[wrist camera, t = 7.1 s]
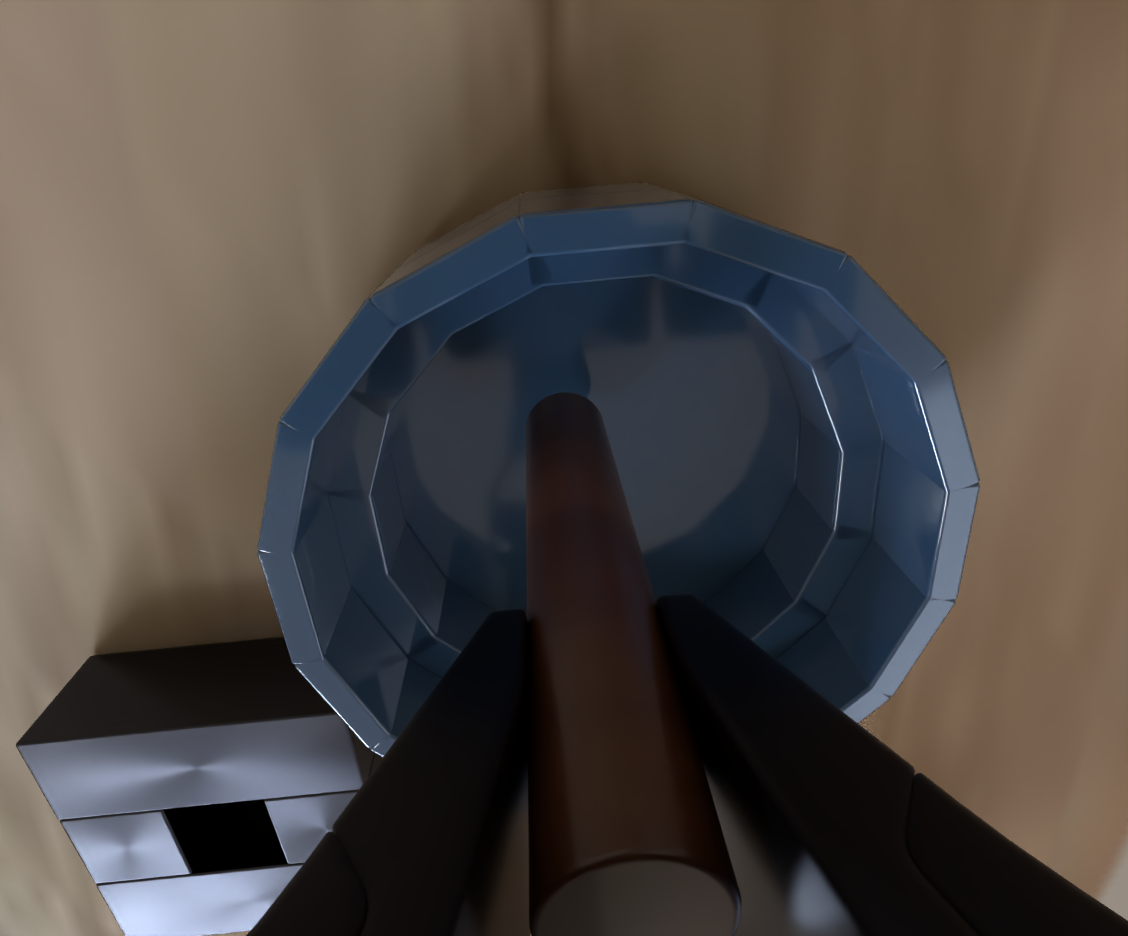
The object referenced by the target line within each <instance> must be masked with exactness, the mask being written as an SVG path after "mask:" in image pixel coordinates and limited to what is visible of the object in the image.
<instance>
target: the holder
mask: <svg viewBox="0 0 1128 936" xmlns="http://www.w3.org/2000/svg"><path fill="white" fill-rule="evenodd" d="M16 747H17V749H18V750H19V752H20V754H21V755H22V757H23V759H24V761H25V762H26V764H27V766H28V768H29V769H30V771H31V773H32V775H33V776H34V778H35V780H36V782H37V783H38V785H39V787H40V789H41V790H42V792H43V794H44V796H45V797H46V799H47V801H48V802H49V804H50V806H51V808H52V809H53V811H54V813H55V815H56V816H57V818H58V819H60V823H61V824H62V826H63V828H64V830H65V831H66V833H67V835H68V836H69V838H70V840H71V842H72V843H73V845H74V847H75V849H76V850H77V852H78V854H79V856H80V857H81V859H82V861H83V863H84V864H85V866H86V868H87V870H88V871H89V873H90V875H91V877H92V878H93V880H94V882H95V883H97V888H98V889H99V891H100V893H101V894H102V896H103V898H104V900H105V901H106V903H107V905H108V907H109V908H110V910H111V912H112V914H113V915H114V917H115V919H116V921H117V922H118V924H119V926H120V928H121V929H122V931H123V933H124V935H125V936H204V935H214V934H224V933H234V932H243V931H251V929H252V928H253V927H254V926H255V925H256V924H257V922H258V921H259V920H260V919H261V918H262V917H263V915H264V914H265V913H266V911H267V910H268V909H269V908H270V906H271V905H272V904H273V902H274V901H275V900H276V899H277V897H278V896H279V895H280V893H281V892H282V891H283V890H284V888H285V887H286V886H287V885H288V883H289V882H290V881H291V879H292V878H293V877H294V876H295V874H296V873H297V872H298V870H299V869H300V868H301V867H302V865H303V864H304V863H305V861H306V860H307V859H308V857H309V856H310V855H311V853H312V852H313V851H314V849H315V848H316V846H317V845H318V844H319V842H320V841H321V840H322V838H323V837H324V836H325V834H326V833H327V832H330V831H331V832H333V830H332V827H333V824H334V823H335V821H336V820H337V819H338V817H339V816H340V815H341V813H342V812H343V811H344V809H345V808H346V807H347V805H348V804H349V803H350V801H351V800H352V798H353V797H354V796H355V794H356V793H357V792H358V790H359V789H360V788H361V786H362V785H363V784H364V782H365V781H366V780H367V778H368V777H369V776H370V774H371V773H372V772H373V770H374V769H375V767H376V766H377V765H378V763H379V762H380V761H381V759H382V758H383V757H382V756H380V755H378V754H377V753H375V752H373V751H371V750H370V748H368V747H366V746H365V744H364V743H363V742H362V741H361V740H360V739H359V738H358V737H357V735H356V734H355V733H354V732H353V731H352V730H351V729H350V728H349V727H348V725H347V724H346V723H345V722H344V721H343V720H342V719H341V718H340V716H339V715H338V714H337V713H336V712H335V711H334V710H333V709H332V708H331V706H330V705H329V704H328V703H327V702H326V701H325V700H324V699H323V698H322V696H321V695H320V694H319V693H318V692H317V691H316V690H315V689H314V687H313V686H312V685H311V684H310V683H309V682H308V681H307V680H306V679H305V677H304V676H303V675H302V674H301V673H300V672H299V671H298V670H297V668H296V667H295V664H293V663H292V661H291V658H290V655H289V651H288V648H287V645H286V642H285V639H284V638H273V639H263V640H253V641H242V642H232V643H222V644H211V645H201V646H191V647H180V648H170V649H160V650H149V651H139V652H128V653H118V654H108V655H97V656H91V657H89V658H88V659H87V661H86V662H85V663H84V664H83V665H82V667H81V668H80V669H79V670H78V671H77V672H76V674H75V675H74V676H73V677H72V678H71V680H70V681H69V682H68V683H67V684H66V685H65V687H64V688H63V689H62V690H61V691H60V693H59V694H58V695H57V696H56V697H55V699H54V700H53V701H52V702H51V703H50V704H49V706H48V707H47V708H46V709H45V710H44V712H43V713H42V714H41V715H40V716H39V717H38V719H37V720H36V721H35V722H34V723H33V725H32V726H31V727H30V728H29V729H28V730H27V732H26V733H25V734H24V735H23V736H22V738H21V739H20V740H19V741H18V742H17V744H16Z"/></svg>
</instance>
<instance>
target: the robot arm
mask: <svg viewBox="0 0 1128 936" xmlns="http://www.w3.org/2000/svg"><path fill="white" fill-rule="evenodd" d="M656 608H657V611H658V615H659V618H660V622H661V625H662V628H663V632H664V635H665V639H666V642H667V646H668V649H669V653H670V656H671V660H672V663H673V667H674V670H675V674H676V677H677V680H678V684H679V687H680V690H681V693H682V697H683V700H684V703H685V706H686V709H687V712H688V715H689V718H690V721H691V725H692V728H693V732H694V735H695V739H696V742H697V746H698V749H699V752H700V756H701V759H702V763H703V766H704V770H705V773H706V777H707V780H708V783H709V787H710V790H711V794H712V797H713V801H714V804H715V808H716V811H717V814H718V818H719V821H720V825H721V828H722V832H723V835H724V838H725V842H726V845H727V849H728V852H729V856H730V859H731V863H732V866H733V869H734V873H735V876H736V880H737V883H738V887H739V890H740V894H741V900H742V908H741V916H740V922H739V925H738V928H737V931H736V933H735V934H734V936H1128V921H1127V920H1126V919H1124V918H1123V917H1121V916H1120V915H1118V914H1117V913H1115V912H1114V911H1112V910H1111V909H1109V908H1108V907H1106V906H1105V905H1103V904H1102V903H1100V902H1099V901H1097V900H1096V899H1094V898H1093V897H1091V896H1090V895H1088V894H1087V893H1085V892H1084V891H1082V890H1081V889H1079V888H1078V887H1076V886H1075V885H1074V884H1072V883H1071V882H1069V881H1068V880H1066V879H1065V878H1063V877H1062V876H1061V875H1059V874H1058V873H1056V872H1055V871H1053V870H1052V869H1050V868H1049V867H1048V866H1046V865H1045V864H1043V863H1042V862H1040V861H1039V860H1037V859H1036V858H1035V857H1033V856H1032V855H1030V854H1029V853H1027V852H1026V851H1024V850H1023V849H1022V848H1020V847H1019V846H1017V845H1016V844H1014V843H1013V842H1011V841H1010V840H1009V839H1007V838H1006V837H1005V836H1003V835H1002V834H1001V833H999V832H998V831H997V830H995V829H994V828H993V827H991V826H990V825H989V824H987V823H986V822H985V821H983V820H982V819H981V818H979V817H978V816H977V815H975V814H974V813H973V812H971V811H970V810H969V809H967V808H966V807H965V806H963V805H962V804H961V803H959V802H958V801H957V800H955V799H954V798H953V797H952V796H950V795H949V794H948V793H946V792H945V791H944V790H943V789H941V788H940V787H939V786H938V785H936V784H935V783H934V782H932V781H931V780H930V779H929V778H927V777H926V776H925V775H923V774H922V773H917V774H915V769H914V767H913V766H912V765H910V764H909V763H908V762H906V761H905V760H904V759H903V758H901V757H900V756H899V755H897V754H896V753H895V752H894V751H892V750H891V749H890V748H889V747H887V746H886V745H885V744H883V743H882V742H881V741H880V740H878V739H877V738H876V737H875V736H873V735H872V734H871V733H869V732H868V731H867V730H866V729H864V728H863V727H862V726H861V725H859V724H858V723H857V722H855V721H854V720H853V719H852V718H850V717H849V716H848V715H846V714H845V713H844V712H843V711H841V710H840V709H839V708H838V707H836V706H835V705H834V704H832V703H831V702H830V701H829V700H827V699H826V698H825V697H824V696H822V695H821V694H820V693H818V692H817V691H816V690H815V689H813V688H812V687H811V686H809V685H808V684H807V683H806V682H804V681H803V680H802V679H801V678H799V677H798V676H797V675H795V674H794V673H793V672H792V671H790V670H789V669H788V668H787V667H785V666H784V665H783V664H781V663H780V662H779V661H778V660H776V659H775V658H774V657H773V656H771V655H770V654H769V653H767V652H766V651H765V650H764V649H762V648H761V647H760V646H758V645H757V644H756V643H755V642H753V641H752V640H751V639H750V638H748V637H747V636H746V635H744V634H743V633H742V632H741V631H739V630H738V629H737V628H736V627H734V626H733V625H732V624H730V623H729V622H728V621H727V620H725V619H724V618H723V617H722V616H720V615H719V614H718V613H716V612H715V611H714V610H713V609H711V608H710V607H709V606H707V605H706V604H705V603H704V602H702V601H701V600H700V599H699V598H697V597H696V596H695V595H693V594H691V593H680V594H670V595H662V596H660V597H658V599H657V602H656ZM528 707H529V685H528V621H527V615H526V612H525V611H524V610H523V609H512V610H501V611H494V612H492V613H490V614H489V615H488V616H487V618H486V619H485V620H484V622H483V623H482V625H481V626H480V627H479V629H478V630H477V631H476V633H475V634H474V635H473V637H472V638H471V639H470V641H469V642H468V643H467V645H466V646H465V647H464V649H463V650H462V652H461V653H460V654H459V656H458V657H457V658H456V660H455V661H454V662H453V664H452V665H451V666H450V668H449V669H448V670H447V672H446V673H445V674H444V676H443V677H442V678H441V680H440V681H439V683H438V684H437V685H436V687H435V688H434V689H433V691H432V692H431V693H430V695H429V696H428V697H427V699H426V700H425V701H424V703H423V704H422V705H421V707H420V708H419V709H418V711H417V712H416V714H415V715H414V716H413V718H412V719H411V720H410V722H409V723H408V724H407V726H406V727H405V728H404V730H403V731H402V732H401V734H400V735H399V736H398V738H397V739H396V741H395V742H394V743H393V745H392V746H391V747H390V749H389V750H388V751H387V753H386V754H385V755H384V757H383V758H382V759H381V761H380V762H379V763H378V765H377V766H376V767H375V769H374V770H373V772H372V773H371V774H370V776H369V777H368V778H367V780H366V781H365V782H364V784H363V785H362V786H361V788H360V789H359V790H358V792H357V793H356V794H355V796H354V797H353V798H352V800H351V801H350V803H349V804H348V805H347V807H346V808H345V809H344V811H343V812H342V813H341V815H340V816H339V817H338V819H337V820H336V821H335V823H334V824H333V827H332V830H333V832H331V831H330V832H327V833H326V834H325V836H324V837H323V838H322V840H321V841H320V842H319V844H318V845H317V846H316V848H315V849H314V851H313V852H312V853H311V855H310V856H309V857H308V859H307V860H306V861H305V863H304V864H303V865H302V867H301V868H300V869H299V870H298V872H297V873H296V874H295V876H294V877H293V878H292V879H291V881H290V882H289V883H288V885H287V886H286V887H285V888H284V890H283V891H282V892H281V893H280V895H279V896H278V897H277V899H276V900H275V901H274V902H273V904H272V905H271V906H270V908H269V909H268V910H267V911H266V913H265V914H264V915H263V917H262V918H261V919H260V920H259V921H258V922H257V924H256V925H255V926H254V927H253V928H252V929H251V931H250V932H249V933H248V934H247V935H246V936H530V934H531V932H530V928H529V849H528ZM914 776H915V777H914Z"/></svg>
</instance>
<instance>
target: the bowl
mask: <svg viewBox="0 0 1128 936" xmlns="http://www.w3.org/2000/svg"><path fill="white" fill-rule="evenodd" d="M562 392H568V393H575V394H579V395H581V396H583V397H585V398H587V399H589V400H590V401H591V402H592V403H593V404H594V405H595V406H596V407H597V408H598V410H599V412H600V413H601V416H602V419H603V422H604V426H605V429H606V432H607V436H608V439H609V443H610V446H611V450H612V453H613V457H614V460H615V463H616V467H617V470H618V474H619V477H620V481H621V484H622V488H623V491H624V494H625V498H626V501H627V505H628V508H629V512H630V515H631V518H632V522H633V525H634V529H635V532H636V536H637V539H638V543H639V546H640V549H641V553H642V556H643V560H644V563H645V567H646V570H647V574H648V577H649V580H650V584H651V587H652V591H653V594H654V598H655V601H656V602H657V599H658V597H660V596H662V595H670V594H680V593H691V594H693V595H695V596H696V597H697V598H699V599H700V600H701V601H702V602H704V603H705V604H706V605H707V606H709V607H710V608H711V609H713V610H714V611H715V612H716V613H718V614H719V615H720V616H722V617H723V618H724V619H725V620H727V621H728V622H729V623H730V624H732V625H733V626H734V627H736V628H737V629H738V630H739V631H741V632H742V633H743V634H744V635H746V636H747V637H748V638H750V639H751V640H752V641H753V642H755V643H756V644H757V645H758V646H760V647H761V648H762V649H764V650H765V651H766V652H767V653H769V654H770V655H771V656H773V657H774V658H775V659H776V660H778V661H779V662H780V663H781V664H783V665H784V666H785V667H787V668H788V669H789V670H790V671H792V672H793V673H794V674H795V675H797V676H798V677H799V678H801V679H802V680H803V681H804V682H806V683H807V684H808V685H809V686H811V687H812V688H813V689H815V690H816V691H817V692H818V693H820V694H821V695H822V696H824V697H825V698H826V699H827V700H829V701H830V702H831V703H832V704H834V705H835V706H836V707H838V708H839V709H840V710H841V711H843V712H844V713H845V714H846V715H848V716H849V717H850V718H852V719H853V720H854V721H855V722H857V723H859V722H861V721H862V720H863V719H865V718H866V717H867V716H868V715H870V714H871V713H872V712H874V711H875V710H876V709H878V708H879V707H880V706H882V705H883V704H884V703H885V702H887V701H888V700H889V699H890V696H893V695H894V694H895V692H896V691H897V689H898V688H899V686H900V685H901V683H902V682H903V680H904V679H905V677H906V676H907V674H908V673H909V671H910V670H911V668H912V667H913V665H914V664H915V662H916V661H917V659H918V658H919V656H920V655H921V653H922V652H923V650H924V649H925V647H926V646H927V644H928V643H929V641H930V640H931V638H932V637H933V635H934V634H935V632H936V631H937V629H938V628H939V626H940V625H941V623H942V622H943V620H944V619H945V617H946V616H947V614H948V613H949V612H950V610H951V609H952V607H953V606H954V604H955V599H956V598H957V597H958V592H959V587H960V582H961V577H962V572H963V567H964V562H965V557H966V552H967V547H968V542H969V537H970V532H971V527H972V523H973V518H974V513H975V508H976V503H977V498H978V493H979V488H980V485H979V483H978V482H979V480H980V479H979V475H978V472H977V468H976V464H975V460H974V457H973V453H972V449H971V445H970V442H969V438H968V434H967V431H966V427H965V423H964V419H963V416H962V412H961V408H960V405H959V401H958V397H957V393H956V390H955V386H954V382H953V378H952V375H951V371H950V367H949V364H948V361H947V360H946V357H945V355H944V354H943V353H942V352H941V351H940V350H939V349H938V348H937V347H936V345H935V344H934V343H933V342H932V341H931V340H930V339H929V338H928V337H927V336H926V335H925V334H924V333H923V332H922V331H921V330H920V329H919V327H918V326H917V325H916V324H915V323H914V322H913V321H912V320H911V319H910V318H909V317H908V316H907V315H906V314H905V313H904V312H903V311H902V309H901V308H900V307H899V306H898V305H897V304H896V303H895V302H894V301H893V300H892V299H891V298H890V297H889V296H888V295H887V294H886V293H885V291H884V290H883V289H882V288H881V287H880V286H879V285H878V284H877V283H876V282H875V281H874V280H873V279H872V278H871V277H870V276H869V275H868V273H867V272H866V271H865V270H864V269H863V268H862V267H861V266H860V265H859V264H858V263H857V262H856V261H855V260H854V259H853V258H852V257H851V256H849V255H847V254H846V253H845V252H844V251H841V250H838V249H835V248H833V247H830V246H827V245H824V244H821V243H819V242H816V241H813V240H810V239H807V238H805V237H802V236H799V235H796V234H793V233H791V232H788V231H785V230H782V229H779V228H777V227H774V226H771V225H768V224H765V223H763V222H760V221H757V220H754V219H751V218H749V217H746V216H743V215H740V214H737V213H735V212H732V211H729V210H726V209H723V208H721V207H718V206H715V205H712V204H709V203H707V202H704V201H701V200H698V199H695V198H692V197H689V196H686V195H683V194H680V193H677V192H673V191H670V190H667V189H664V188H661V187H658V186H655V185H652V184H645V183H642V182H635V183H624V184H613V185H601V186H590V187H579V188H567V189H556V190H545V191H533V192H523V193H521V194H517V195H515V196H513V197H511V198H509V199H508V200H506V201H504V202H502V203H500V204H499V205H497V206H495V207H493V208H492V209H490V210H488V211H486V212H484V213H483V214H481V215H479V216H477V217H475V218H474V219H472V220H470V221H468V222H466V223H465V224H463V225H461V226H459V227H457V228H456V229H454V230H452V231H450V232H448V233H447V234H445V235H443V236H441V237H440V238H438V239H436V240H434V241H432V242H431V243H429V244H427V245H425V246H423V247H422V248H420V249H418V250H416V251H415V252H414V253H413V254H411V255H410V256H409V257H408V258H407V259H406V260H405V261H404V262H403V263H402V264H401V265H400V266H399V267H398V268H397V269H396V270H395V271H394V272H393V273H392V274H391V275H390V276H389V277H388V278H387V279H386V280H385V281H384V282H383V283H382V284H381V285H380V286H379V287H378V288H377V289H376V290H375V291H374V292H373V293H372V294H371V295H370V296H369V297H368V298H367V299H366V300H365V301H364V303H363V304H362V306H361V307H360V308H359V310H358V311H357V312H356V314H355V315H354V317H353V318H352V319H351V321H350V322H349V323H348V325H347V326H346V328H345V329H344V330H343V332H342V333H341V334H340V336H339V337H338V339H337V340H336V341H335V343H334V344H333V345H332V347H331V348H330V349H329V351H328V352H327V354H326V355H325V356H324V358H323V359H322V360H321V362H320V363H319V365H318V366H317V367H316V369H315V370H314V371H313V373H312V374H311V376H310V377H309V378H308V380H307V381H306V382H305V384H304V385H303V386H302V388H301V389H300V391H299V392H298V393H297V395H296V396H295V397H294V399H293V400H292V402H291V403H290V404H289V406H288V407H287V408H286V410H285V411H284V413H283V414H282V415H281V417H280V421H279V422H278V425H277V431H276V437H275V443H274V449H273V455H272V462H271V468H270V474H269V480H268V486H267V492H266V498H265V504H264V510H263V516H262V522H261V528H260V534H259V541H258V557H259V560H260V563H261V566H262V569H263V572H264V576H265V579H266V582H267V585H268V588H269V591H270V595H271V598H272V601H273V604H274V607H275V610H276V613H277V617H278V620H279V623H280V626H281V629H282V632H283V636H284V639H285V642H286V645H287V648H288V651H289V655H290V658H291V661H292V663H293V664H295V667H296V668H297V670H298V671H299V672H300V673H301V674H302V675H303V676H304V677H305V679H306V680H307V681H308V682H309V683H310V684H311V685H312V686H313V687H314V689H315V690H316V691H317V692H318V693H319V694H320V695H321V696H322V698H323V699H324V700H325V701H326V702H327V703H328V704H329V705H330V706H331V708H332V709H333V710H334V711H335V712H336V713H337V714H338V715H339V716H340V718H341V719H342V720H343V721H344V722H345V723H346V724H347V725H348V727H349V728H350V729H351V730H352V731H353V732H354V733H355V734H356V735H357V737H358V738H359V739H360V740H361V741H362V742H363V743H364V744H365V746H366V747H368V748H370V750H371V751H373V752H375V753H377V754H378V755H380V756H382V757H384V755H385V754H386V753H387V751H388V750H389V749H390V747H391V746H392V745H393V743H394V742H395V741H396V739H397V738H398V736H399V735H400V734H401V732H402V731H403V730H404V728H405V727H406V726H407V724H408V723H409V722H410V720H411V719H412V718H413V716H414V715H415V714H416V712H417V711H418V709H419V708H420V707H421V705H422V704H423V703H424V701H425V700H426V699H427V697H428V696H429V695H430V693H431V692H432V691H433V689H434V688H435V687H436V685H437V684H438V683H439V681H440V680H441V678H442V677H443V676H444V674H445V673H446V672H447V670H448V669H449V668H450V666H451V665H452V664H453V662H454V661H455V660H456V658H457V657H458V656H459V654H460V653H461V652H462V650H463V649H464V647H465V646H466V645H467V643H468V642H469V641H470V639H471V638H472V637H473V635H474V634H475V633H476V631H477V630H478V629H479V627H480V626H481V625H482V623H483V622H484V620H485V619H486V618H487V616H488V615H489V614H490V613H492V612H494V611H501V610H512V609H523V610H524V611H525V612H526V615H527V568H526V422H527V418H528V416H529V414H530V412H531V410H532V409H533V407H534V406H535V405H536V404H537V403H538V402H539V401H541V400H542V399H544V398H545V397H547V396H550V395H552V394H556V393H562Z"/></svg>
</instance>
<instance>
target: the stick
mask: <svg viewBox="0 0 1128 936" xmlns="http://www.w3.org/2000/svg"><path fill="white" fill-rule="evenodd" d="M526 568H527V621H528V685H529V707H528V849H529V928H530V932H531V935H532V936H734V934H735V933H736V931H737V928H738V925H739V922H740V916H741V908H742V900H741V894H740V890H739V887H738V883H737V880H736V876H735V873H734V869H733V866H732V863H731V859H730V856H729V852H728V849H727V845H726V842H725V838H724V835H723V832H722V828H721V825H720V821H719V818H718V814H717V811H716V808H715V804H714V801H713V797H712V794H711V790H710V787H709V783H708V780H707V777H706V773H705V770H704V766H703V763H702V759H701V756H700V752H699V749H698V746H697V742H696V739H695V735H694V732H693V728H692V725H691V721H690V718H689V715H688V712H687V709H686V706H685V703H684V700H683V697H682V693H681V690H680V687H679V684H678V680H677V677H676V674H675V670H674V667H673V663H672V660H671V656H670V653H669V649H668V646H667V642H666V639H665V635H664V632H663V628H662V625H661V622H660V618H659V615H658V611H657V608H656V601H655V598H654V594H653V591H652V587H651V584H650V580H649V577H648V574H647V570H646V567H645V563H644V560H643V556H642V553H641V549H640V546H639V543H638V539H637V536H636V532H635V529H634V525H633V522H632V518H631V515H630V512H629V508H628V505H627V501H626V498H625V494H624V491H623V488H622V484H621V481H620V477H619V474H618V470H617V467H616V463H615V460H614V457H613V453H612V450H611V446H610V443H609V439H608V436H607V432H606V429H605V426H604V422H603V419H602V416H601V413H600V412H599V410H598V408H597V407H596V406H595V405H594V404H593V403H592V402H591V401H590V400H589V399H587V398H585V397H583V396H581V395H579V394H575V393H568V392H562V393H556V394H552V395H550V396H547V397H545V398H544V399H542V400H541V401H539V402H538V403H537V404H536V405H535V406H534V407H533V409H532V410H531V412H530V414H529V416H528V418H527V422H526Z"/></svg>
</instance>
